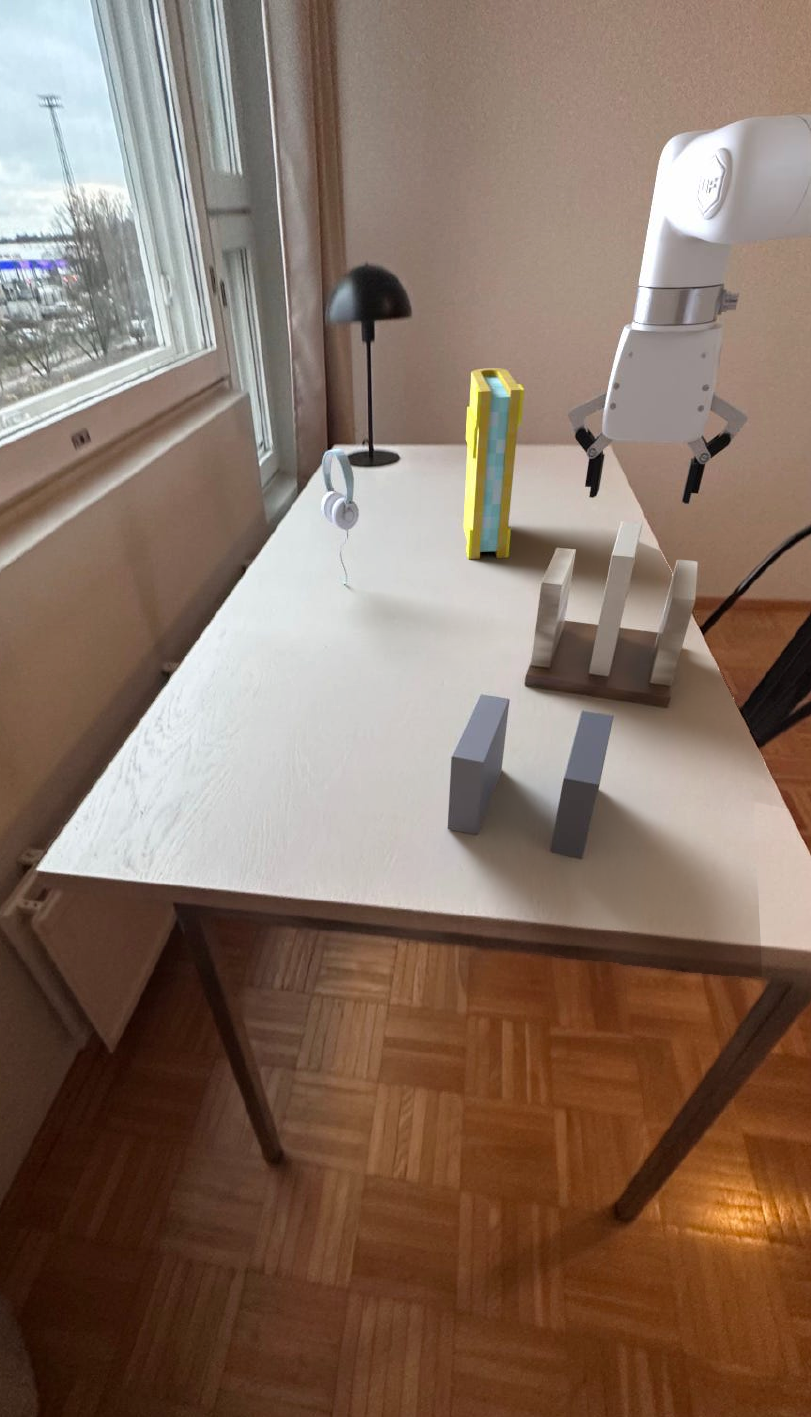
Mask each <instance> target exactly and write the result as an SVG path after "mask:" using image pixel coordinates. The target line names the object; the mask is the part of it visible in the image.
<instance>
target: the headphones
mask: <svg viewBox="0 0 811 1417" xmlns="http://www.w3.org/2000/svg"><path fill="white" fill-rule="evenodd" d="M334 457H335V458H336V460H337V462H338V464H339V467H340V468H341V472H342V476H343V481H344V485H345V494H343V493H341V492H339V491H337V490H335V488H334V487H333V484H332V477H331V476H332V475H331V469H332V463H333V458H334ZM321 469H322V470H321V471H322V477H323V482H324V486H325V490H324V491H325V494H324V495H323V496H322V499H321V503H320V511H321V513H322V515H323V516H324V517H325V519H326V520H328V521H329V522H331V523H333V524H334V525H335V526H336V527H337V528H339V529H341V530H343V531H345V530H346V536H345V539H344V541H343V542H342V544H341V546H340V549H339V558H340V562H341V565H342V568H343V571H344V573H345V574H344V575H345V581H344V580H343V579H342V578H341V577H339V580H340V581H341V583H342V584H343V585H346V584H347V582H348V574H347V570H346V567H345V565H344V562H343V558H342V550H343V548H344V545H345V544H346V543H347V541H348V539H349V530H351V529H352V528H353V527H355V526H356V524H357V522H358V520H359V515H360V513H359V507H358V504H356V502H355V501H354V500H353V498H354V490H355V488H354V487H355V479H354V478H355V477H354V471H353V467H352V465H351V462H350V459H349V457H348V455H347V454H346V453H345V451H344V450H342V449H341V448H334V449H328V450H326V451H325V452H324V455H323V457H322V460H321Z"/></svg>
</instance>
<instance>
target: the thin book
mask: <svg viewBox="0 0 811 1417" xmlns="http://www.w3.org/2000/svg"><path fill="white" fill-rule="evenodd" d="M642 528H643V522H639V521H630V520H629V521H627V520H622V521H621V522H620V525H619V530H618V533H617V535H616V536H617V537H616V538H615V539H616V540H615V543H614V545H613V546H614V547H613V550H612V553H611V556H610V557H611V558H610V564H609V568H608V573H607V578H606V583H605V588H604V594H603V599H602V603H601V609H600V614H599V619H598V624H597V625H598V629H597V634H596V639H595V644H594V649H593V654H592V660H591V665H590V670H589V674H594V675H601V676H609V673H610V669H611V665H612V660H613V656H614V652H615V647H616V643H617V638H618V634H619V629H620V628H621V624H622V620H623V615H624V610H625V605H626V601H627V597H628V592H629V588H630V583H631V578H632V574H633V568H634V566H635V565H634V564H635V560H636V556H637V552H638V551H637V550H638V546H639V542H640V537H641V533H642Z"/></svg>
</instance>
